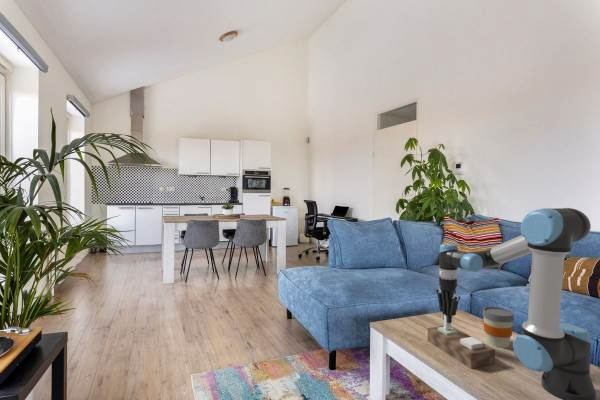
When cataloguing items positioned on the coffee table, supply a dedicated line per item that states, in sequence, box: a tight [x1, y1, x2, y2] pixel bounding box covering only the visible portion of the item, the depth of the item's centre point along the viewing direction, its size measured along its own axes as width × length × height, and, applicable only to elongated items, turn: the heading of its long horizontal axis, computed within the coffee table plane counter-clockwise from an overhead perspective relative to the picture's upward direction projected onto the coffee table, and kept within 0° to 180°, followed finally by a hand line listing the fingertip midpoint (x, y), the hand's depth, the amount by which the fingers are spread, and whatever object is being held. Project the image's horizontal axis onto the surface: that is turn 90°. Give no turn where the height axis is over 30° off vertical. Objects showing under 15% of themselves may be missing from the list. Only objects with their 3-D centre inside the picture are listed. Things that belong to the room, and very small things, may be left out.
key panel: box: [427, 325, 496, 370], centre depth 148 cm, size 26×12×6 cm, turn 18°
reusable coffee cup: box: [482, 306, 515, 349], centre depth 156 cm, size 13×13×15 cm
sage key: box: [438, 326, 458, 335], centre depth 155 cm, size 6×6×5 cm
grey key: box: [460, 336, 484, 350], centre depth 141 cm, size 6×6×5 cm
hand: (447, 328), depth 155 cm, fingers closed
